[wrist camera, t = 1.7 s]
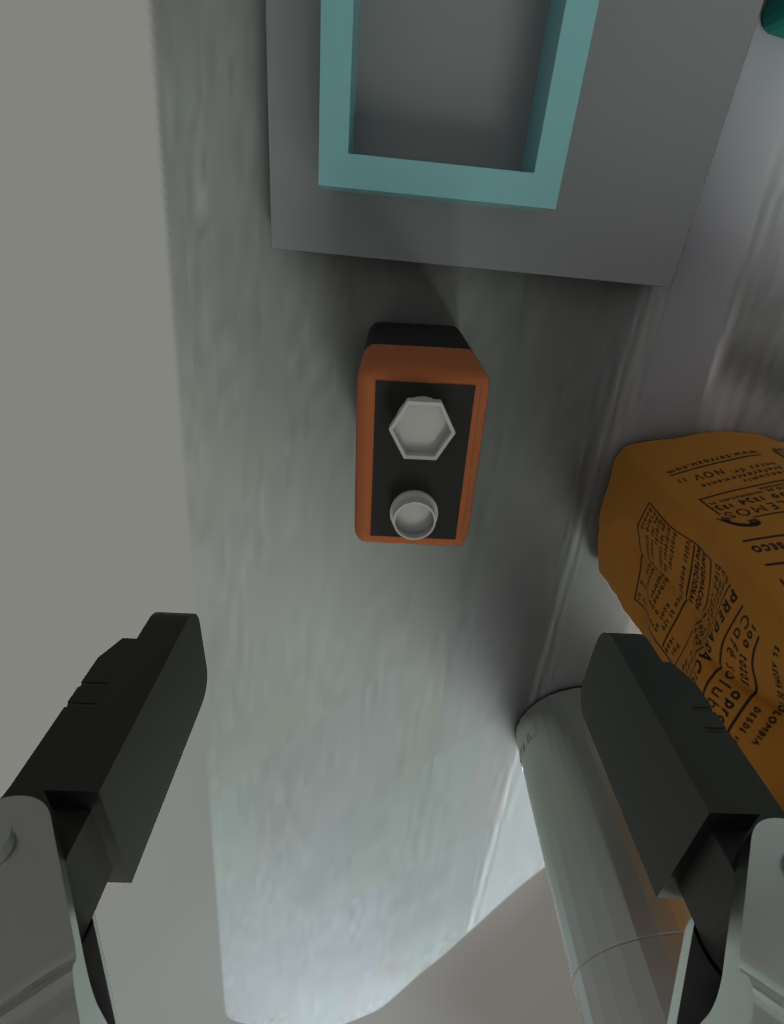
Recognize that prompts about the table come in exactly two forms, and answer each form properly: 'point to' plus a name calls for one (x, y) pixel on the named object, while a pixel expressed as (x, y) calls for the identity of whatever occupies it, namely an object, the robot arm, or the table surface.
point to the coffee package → (707, 573)
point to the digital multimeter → (774, 18)
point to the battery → (417, 434)
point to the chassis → (499, 129)
